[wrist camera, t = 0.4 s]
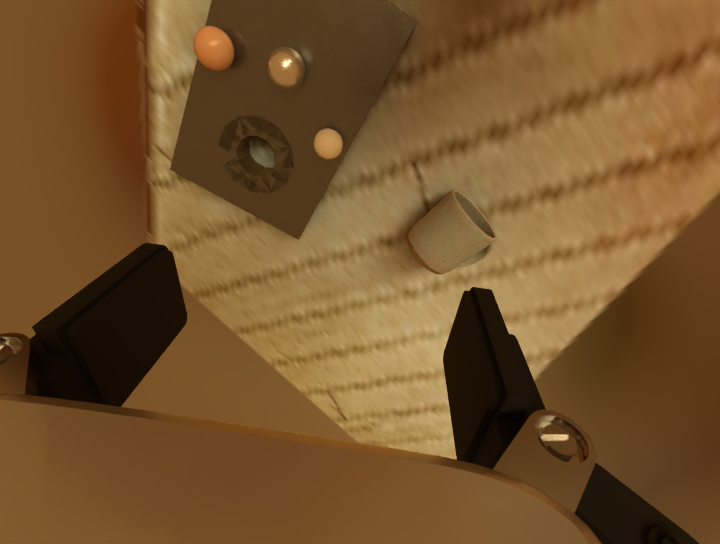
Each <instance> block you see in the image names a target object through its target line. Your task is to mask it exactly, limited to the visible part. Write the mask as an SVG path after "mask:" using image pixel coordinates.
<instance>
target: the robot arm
mask: <svg viewBox="0 0 720 544" xmlns="http://www.w3.org/2000/svg"><path fill="white" fill-rule="evenodd" d="M186 322H187V312H186V308H185V303H184V299H183V295H182V290H181V286H180V282H179V277H178V273H177V269H176V265H175V260H174V256H173V253H172V252H171V251H169V250H168V248H167V247H166V246H164V245H158V244H150V243H144V244H142V245H141V246H140V247H138V248H137V249H136V250H134V251H133V252H131V253H130V254H129V255H128V256H126V257H125V258H124V259H122V260H121V261H120V262H118V263H117V264H115V265H114V266H113V267H111V268H110V269H109V270H107V271H106V272H105V273H103V274H102V275H101V276H99V277H98V278H97V279H95V280H94V281H93V282H91V283H90V284H89V285H87V286H86V287H85V288H83V289H82V290H81V291H79V292H78V293H77V294H75V295H74V296H72V297H71V298H70V299H68V300H67V301H66V302H65V303H63V304H62V305H60V306H59V307H58V308H56V309H55V310H54V311H52V312H51V313H50V314H48V315H47V316H46V317H44V318H43V319H42V320H40V321H39V322H38V323H36V324H35V325H34V326H32V328H33V329H34V331H35V333H36V335H35V336H34V337H32V338H31V339H29V338H28V337H27V336H26V335H24V334H20V333H3V334H0V544H699V543H698V542H697V541H696V540H694V539H693V538H692V537H691V536H690V535H689V534H688V533H686V532H685V531H684V530H682V529H681V528H680V527H678V526H677V525H676V524H675V523H673V522H672V521H671V520H670V519H668V518H667V517H666V516H664V515H663V514H662V513H660V512H659V511H658V510H657V509H655V508H654V507H653V506H651V505H650V504H649V503H647V502H646V501H645V500H643V499H642V498H641V497H640V496H639V495H637V494H636V493H635V492H633V491H632V490H631V489H629V488H628V487H627V486H625V485H624V484H623V483H622V482H620V481H619V480H618V479H617V478H615V477H614V476H612V475H611V474H610V473H609V472H608V471H606V470H604V468H602V467H601V466H599V465H598V464H597V463H596V459H597V452H596V448H595V445H594V443H593V441H592V439H591V438H590V436H589V435H588V434H587V432H586V431H585V430H584V429H583V428H582V427H581V426H580V425H579V424H577V423H576V422H575V421H574V420H572V419H571V418H569V417H567V416H565V415H564V414H562V413H558V412H556V411H553V410H546V409H545V406H544V404H543V402H542V399H541V397H540V394H539V392H538V389H537V387H536V384H535V382H534V380H533V377H532V375H531V372H530V370H529V367H528V365H527V362H526V360H525V357H524V355H523V353H522V350H521V348H520V345H519V343H518V340H517V339H516V337H515V336H514V335H512V334H509V333H508V331H507V328H506V326H505V323H504V320H503V318H502V315H501V313H500V310H499V307H498V305H497V302H496V300H495V297H494V294H493V292H492V290H490V289H483V288H476V287H472V288H471V289H470V291H464V293H463V295H462V298H461V302H460V305H459V308H458V311H457V314H456V317H455V320H454V323H453V326H452V329H451V332H450V335H449V338H448V341H447V344H446V347H445V351H444V356H443V364H444V371H445V378H446V385H447V392H448V399H449V406H450V413H451V421H452V428H453V435H454V442H455V449H456V456H457V460H455V459H450V458H446V457H441V456H435V455H429V454H424V453H418V452H412V451H406V450H400V449H395V448H389V447H383V446H377V445H370V444H364V443H357V442H351V441H345V440H337V439H332V438H325V437H319V436H312V435H306V434H300V433H293V432H286V431H279V430H273V429H267V428H260V427H252V426H247V425H240V424H233V423H227V422H220V421H213V420H206V419H200V418H193V417H187V416H180V415H173V414H166V413H158V412H152V411H145V410H138V409H131V408H124V407H121V406H122V405H123V403H124V402H125V401H126V400H127V398H128V397H129V396H130V394H131V393H132V392H133V391H134V389H135V388H136V387H137V385H138V384H139V383H140V382H141V380H142V379H143V378H144V376H145V375H146V374H147V373H148V372H149V370H150V369H151V368H152V366H153V365H154V364H155V363H156V361H157V360H158V359H159V358H160V356H161V355H162V354H163V352H164V351H165V350H166V348H167V347H168V346H169V345H170V344H171V342H172V341H173V340H174V339H175V337H176V336H177V335H178V333H179V332H180V331H181V330H182V328H183V327H184V326H185V324H186Z"/></svg>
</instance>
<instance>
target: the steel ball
mask: <svg viewBox="0 0 720 544" xmlns="http://www.w3.org/2000/svg"><path fill="white" fill-rule="evenodd" d="M267 72H268V75H269V78H270V79H271V81H272V82H273V83H274V84H275V85H276V86H277V87H279V88H281V89H284V90H292V89H295V88H296V87H298V86H299V85H300V84H301V82H302V81H303V79H304V75H305V66H304V62H303V60H302V58H301V56H300V55H299V54H298V53H297V52H296V51H295V50H294V49H292V48H290V47H286V46H281V47H278V48H276V49H274V50H273V51H272V52H271V53H270V55H269V57H268V59H267Z"/></svg>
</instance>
